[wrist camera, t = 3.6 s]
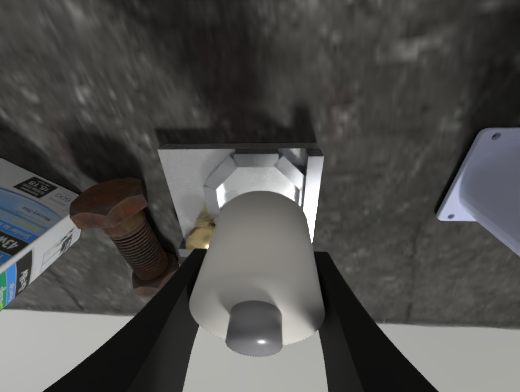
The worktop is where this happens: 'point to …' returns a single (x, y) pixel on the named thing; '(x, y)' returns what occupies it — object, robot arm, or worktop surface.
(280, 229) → the white knobbed cylinder
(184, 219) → the carrier
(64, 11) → the worktop surface
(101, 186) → the bolt
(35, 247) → the light bulb box
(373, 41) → the worktop surface
